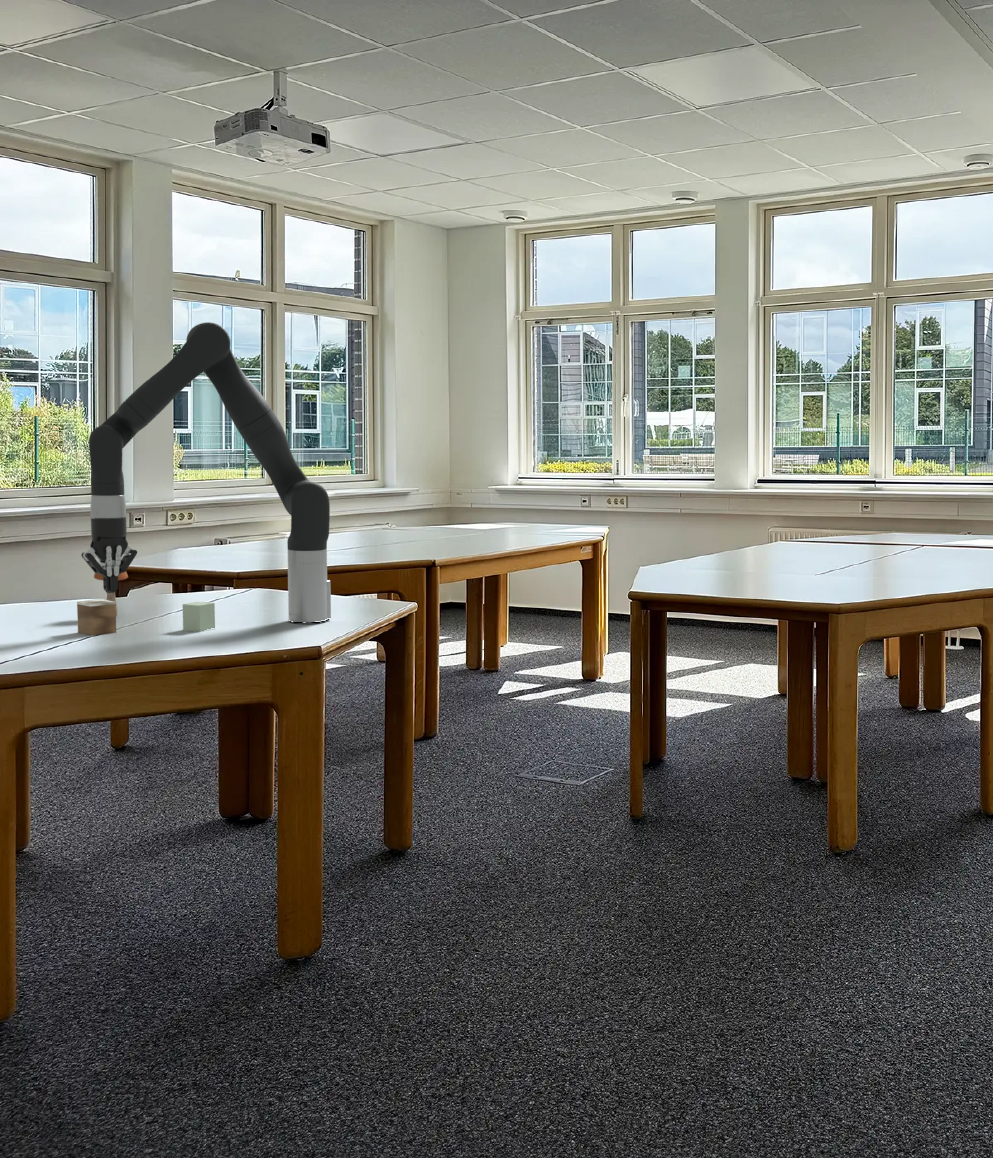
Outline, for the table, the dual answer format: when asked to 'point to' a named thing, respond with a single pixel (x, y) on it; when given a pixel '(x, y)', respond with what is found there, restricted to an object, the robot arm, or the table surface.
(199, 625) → the sage block
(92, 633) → the walnut block
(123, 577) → the mushroom
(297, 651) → the table surface
